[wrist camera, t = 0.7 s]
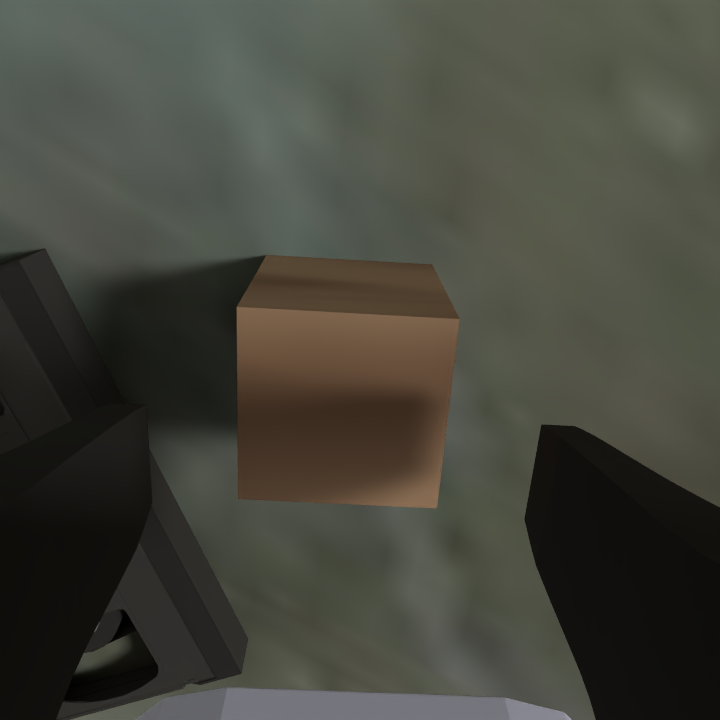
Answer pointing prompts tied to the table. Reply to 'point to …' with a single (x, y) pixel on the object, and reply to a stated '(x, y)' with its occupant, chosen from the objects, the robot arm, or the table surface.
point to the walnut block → (343, 382)
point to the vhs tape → (165, 519)
